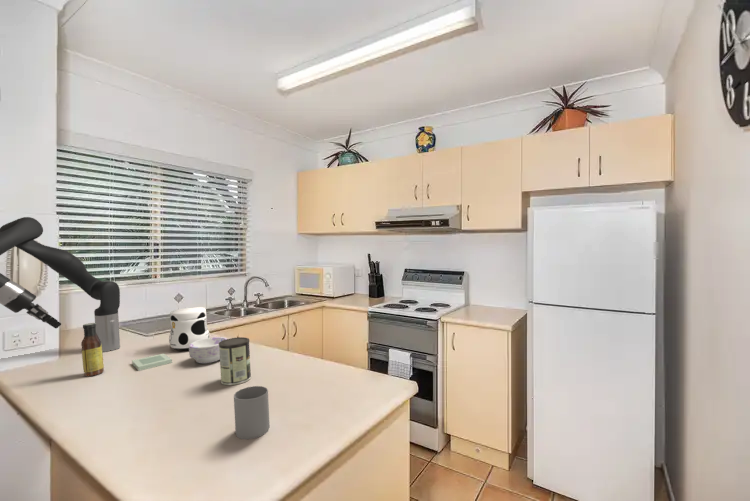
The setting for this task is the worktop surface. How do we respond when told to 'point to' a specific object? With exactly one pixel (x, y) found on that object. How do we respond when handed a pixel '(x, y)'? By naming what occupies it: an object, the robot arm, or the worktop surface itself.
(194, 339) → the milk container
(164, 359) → the trivet
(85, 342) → the sauce bottle
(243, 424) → the cup
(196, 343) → the paper bowls
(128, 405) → the worktop surface
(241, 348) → the coffee can
